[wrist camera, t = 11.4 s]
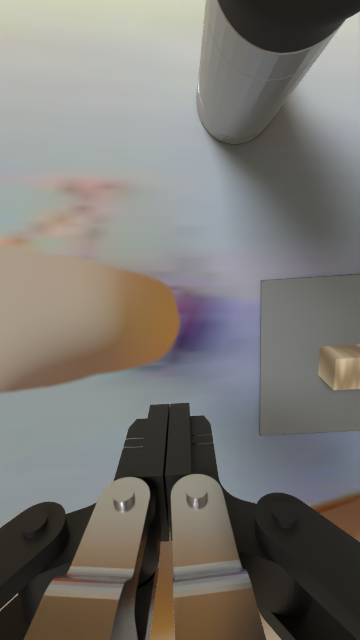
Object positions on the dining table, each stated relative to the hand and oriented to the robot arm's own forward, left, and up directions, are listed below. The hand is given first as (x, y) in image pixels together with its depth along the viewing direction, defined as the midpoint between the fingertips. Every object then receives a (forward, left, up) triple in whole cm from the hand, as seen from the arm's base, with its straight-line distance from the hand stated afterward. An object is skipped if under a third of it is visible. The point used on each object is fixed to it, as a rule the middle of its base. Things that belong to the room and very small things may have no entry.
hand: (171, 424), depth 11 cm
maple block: (+11, +19, -26) cm, 35 cm away
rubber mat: (+11, +22, -29) cm, 38 cm away
